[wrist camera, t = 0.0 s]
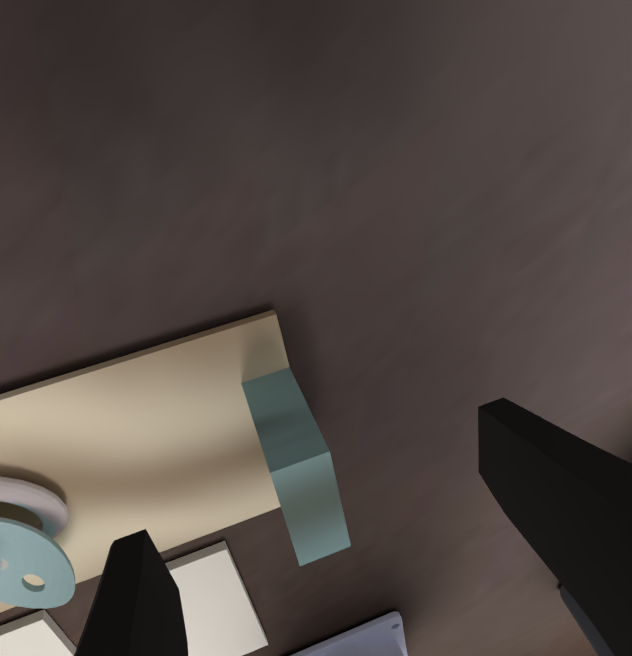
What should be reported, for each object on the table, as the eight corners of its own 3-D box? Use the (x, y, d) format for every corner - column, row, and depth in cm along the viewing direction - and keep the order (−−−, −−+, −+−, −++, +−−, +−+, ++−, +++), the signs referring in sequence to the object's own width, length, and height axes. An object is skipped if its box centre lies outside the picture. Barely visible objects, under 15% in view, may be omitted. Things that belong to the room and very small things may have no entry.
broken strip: (266, 636, 30) (268, 644, 30) (13, 741, 28) (12, 752, 27) (224, 540, 25) (226, 549, 25) (-85, 658, 23) (-89, 670, 23)
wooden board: (318, 485, 25) (359, 584, 21) (-106, 644, 22) (-165, 800, 18) (273, 309, 20) (316, 391, 15) (-295, 485, 17) (-450, 653, 12)
